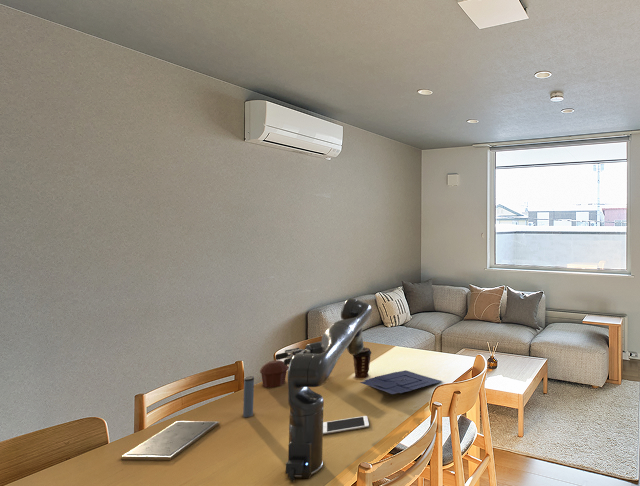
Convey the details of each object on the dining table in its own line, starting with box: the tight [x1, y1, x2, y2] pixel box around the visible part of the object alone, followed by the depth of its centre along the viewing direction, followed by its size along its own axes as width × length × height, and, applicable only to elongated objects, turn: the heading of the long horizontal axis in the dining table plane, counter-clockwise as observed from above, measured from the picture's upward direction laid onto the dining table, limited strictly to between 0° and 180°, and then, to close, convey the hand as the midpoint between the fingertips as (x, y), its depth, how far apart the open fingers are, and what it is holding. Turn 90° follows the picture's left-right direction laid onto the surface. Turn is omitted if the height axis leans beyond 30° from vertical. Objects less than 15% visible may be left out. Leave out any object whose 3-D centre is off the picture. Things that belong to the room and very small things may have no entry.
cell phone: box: [323, 415, 370, 435], centre depth 140 cm, size 8×16×1 cm, turn 111°
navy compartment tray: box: [359, 370, 443, 395], centre depth 176 cm, size 24×30×4 cm
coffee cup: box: [352, 346, 372, 380], centre depth 187 cm, size 9×8×13 cm
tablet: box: [121, 420, 220, 461], centre depth 129 cm, size 22×15×1 cm
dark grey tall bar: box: [242, 375, 255, 418], centre depth 147 cm, size 3×3×14 cm
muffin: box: [259, 359, 289, 389], centre depth 177 cm, size 12×11×10 cm
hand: (279, 359), depth 156 cm, fingers open, 8 cm apart
